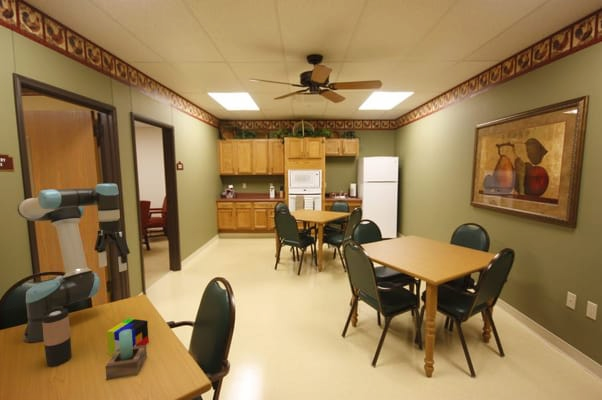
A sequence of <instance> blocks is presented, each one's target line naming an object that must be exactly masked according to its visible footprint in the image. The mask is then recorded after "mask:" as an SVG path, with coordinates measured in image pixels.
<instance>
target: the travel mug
mask: <svg viewBox="0 0 602 400" xmlns="http://www.w3.org/2000/svg"><path fill="white" fill-rule="evenodd" d="M42 324H43V336H44V341H43V346H44V352H45V359H46V364H47V365H46V366H47V367H49V368H54V367H59V366H62V365H64V364H65V363H67V362H68V361H70V359H71V358H72V343H71V342H72V341H71V330H70V329H71V328H70V316H69V309H68V308H65V307H62V308H56V309H52V310H50V311H47V312H45V313H44V314H43V315H42Z"/></svg>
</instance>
